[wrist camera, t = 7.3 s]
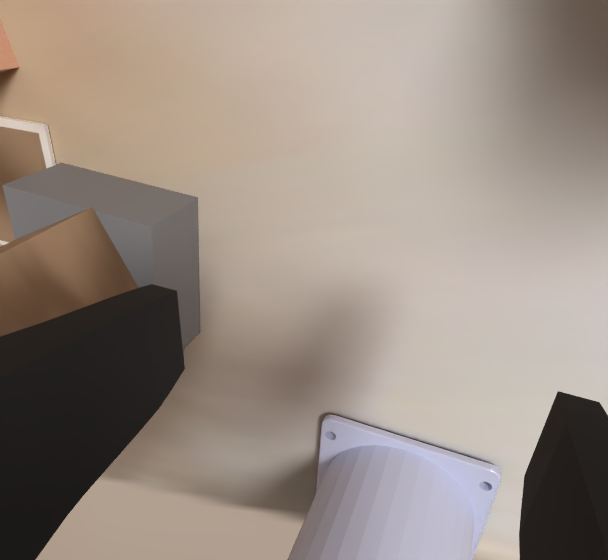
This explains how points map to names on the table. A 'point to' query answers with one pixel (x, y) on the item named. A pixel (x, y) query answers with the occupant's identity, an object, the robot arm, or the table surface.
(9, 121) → the swatch
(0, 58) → the terracotta cube
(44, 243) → the walnut cube
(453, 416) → the table surface
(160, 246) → the plinth
